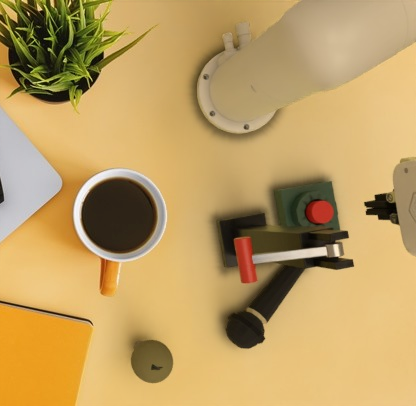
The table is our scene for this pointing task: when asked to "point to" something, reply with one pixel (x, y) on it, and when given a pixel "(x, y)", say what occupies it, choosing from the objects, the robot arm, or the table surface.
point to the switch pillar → (279, 241)
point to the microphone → (261, 310)
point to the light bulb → (151, 361)
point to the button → (319, 212)
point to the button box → (304, 204)
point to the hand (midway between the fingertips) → (376, 206)
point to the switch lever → (277, 256)
